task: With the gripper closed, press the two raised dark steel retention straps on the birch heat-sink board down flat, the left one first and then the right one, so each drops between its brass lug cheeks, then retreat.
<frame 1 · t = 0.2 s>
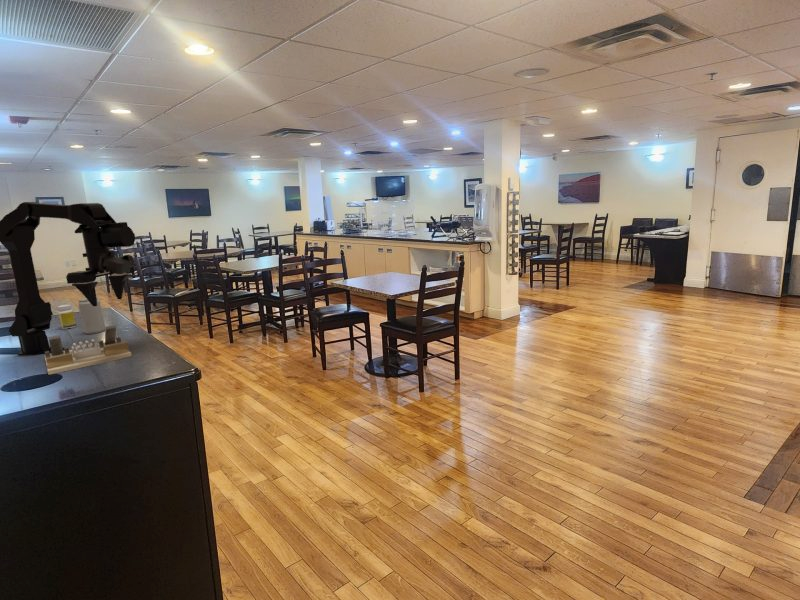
hand: (107, 302, 137), 14 cm above the table, fingers open, 9 cm apart
heatsink board: (87, 357, 135), on the table
supplement bottle: (69, 328, 176), on the table
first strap: (56, 345, 131), point 5 cm above the table, hinge at 35.0°
beverage can: (95, 332, 166), on the table
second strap: (110, 335, 139), point 5 cm above the table, hinge at 35.0°
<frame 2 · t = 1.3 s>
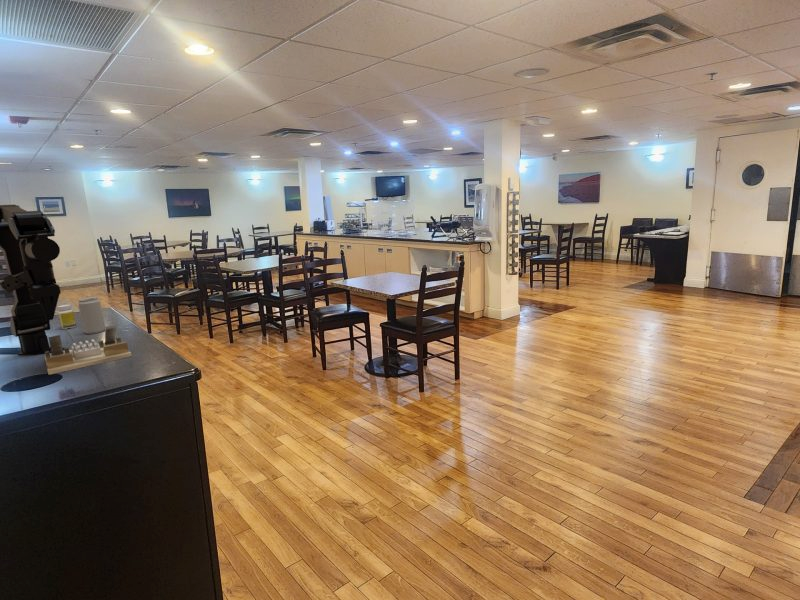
hand: (50, 319, 126), 13 cm above the table, fingers open, 3 cm apart
nothing on the table moved.
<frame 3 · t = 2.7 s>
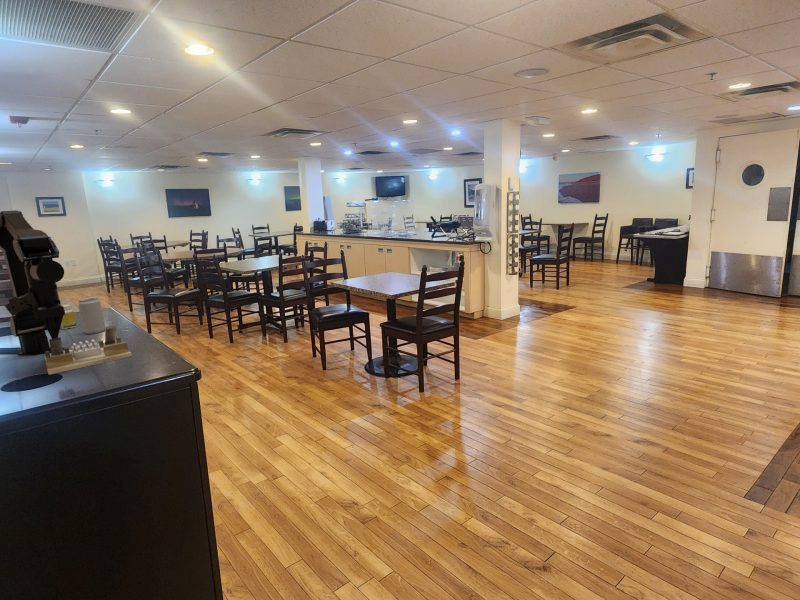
hand: (54, 339, 127), 7 cm above the table, fingers closed, pressing on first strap
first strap: (56, 346, 131), point 5 cm above the table, hinge at 31.7°, touching gripper
everything else where it was.
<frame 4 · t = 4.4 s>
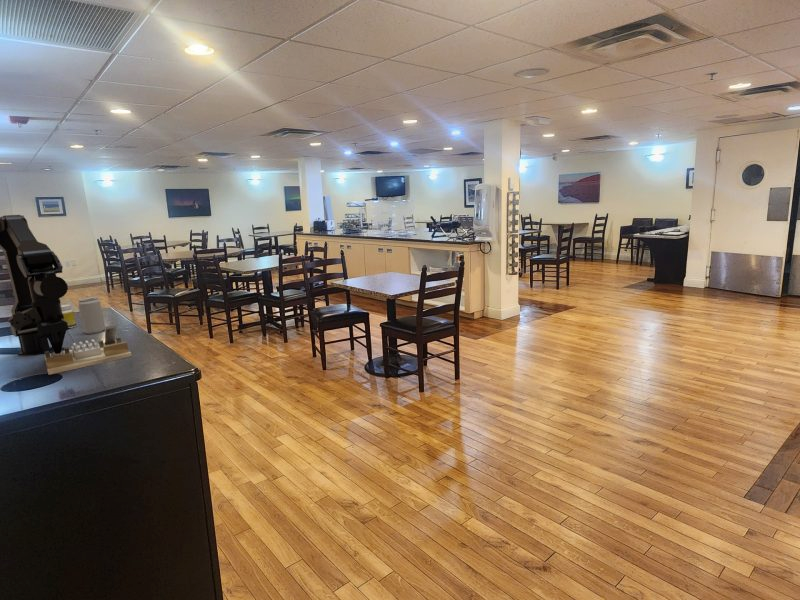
hand: (58, 353, 128), 4 cm above the table, fingers closed
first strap: (58, 356, 131), point 2 cm above the table, hinge at 2.3°
everything else where it was.
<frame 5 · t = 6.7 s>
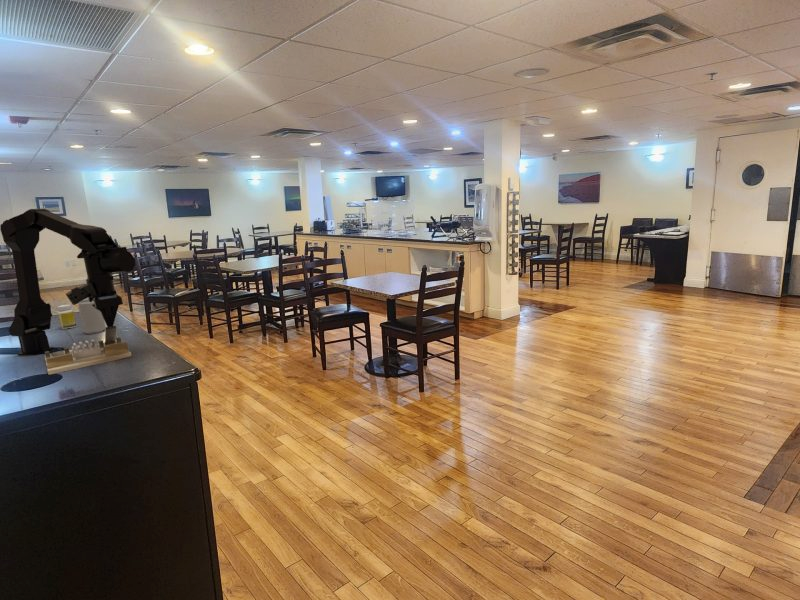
hand: (110, 328, 135), 8 cm above the table, fingers closed
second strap: (110, 335, 139), point 5 cm above the table, hinge at 33.8°, touching gripper
everything else where it was.
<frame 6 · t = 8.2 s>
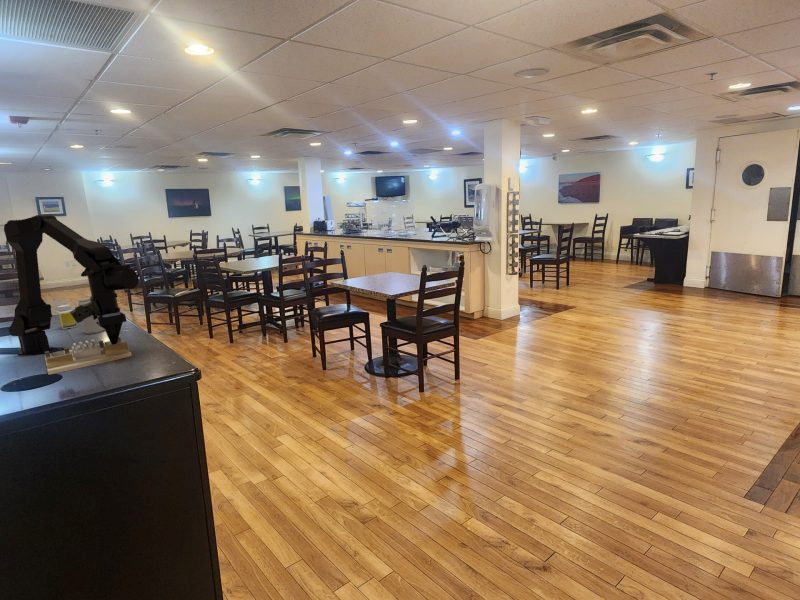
hand: (114, 345, 135), 3 cm above the table, fingers closed, pressing on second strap
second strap: (112, 344, 138), point 2 cm above the table, hinge at 2.9°, touching gripper
everything else where it was.
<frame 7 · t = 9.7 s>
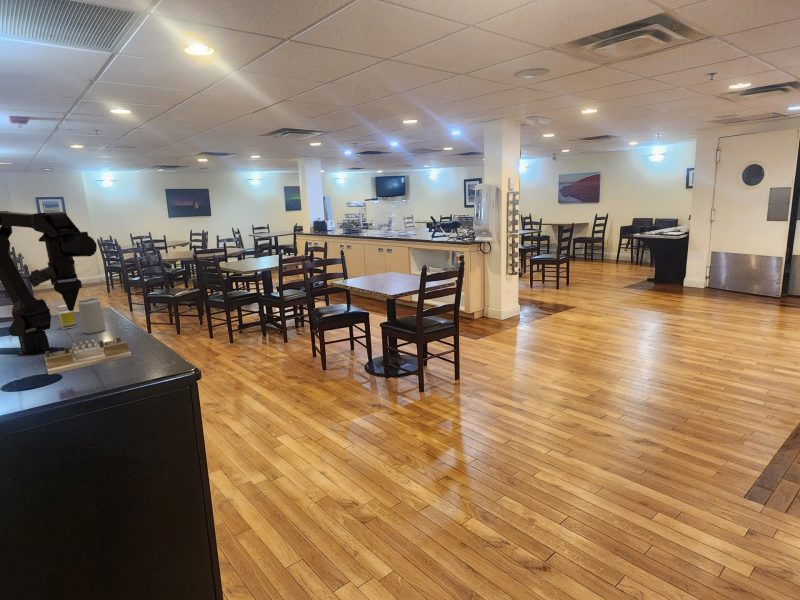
hand: (71, 310, 138), 13 cm above the table, fingers closed
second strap: (112, 344, 138), point 2 cm above the table, hinge at 2.6°
everything else where it was.
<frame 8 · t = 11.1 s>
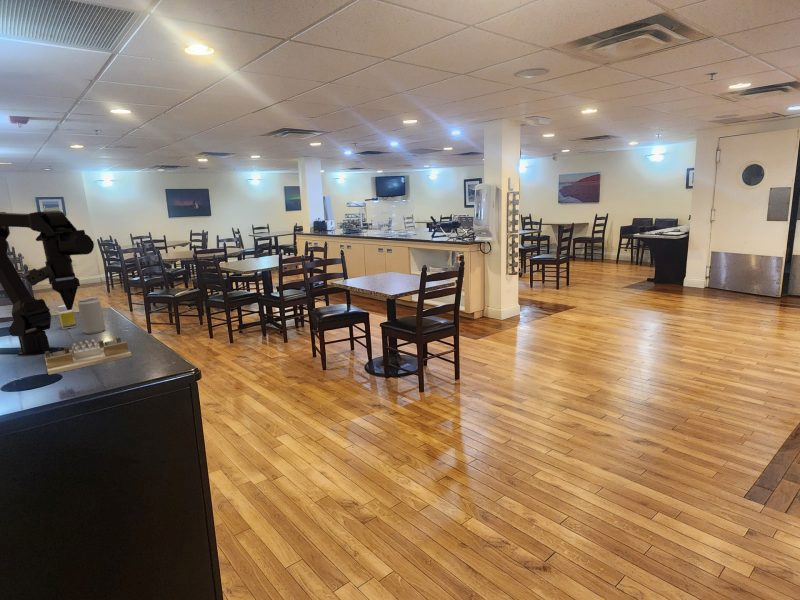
hand: (69, 309, 138), 13 cm above the table, fingers closed
nothing on the table moved.
at the end: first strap at +2° (first picture: +35°); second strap at +3° (first picture: +35°) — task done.
